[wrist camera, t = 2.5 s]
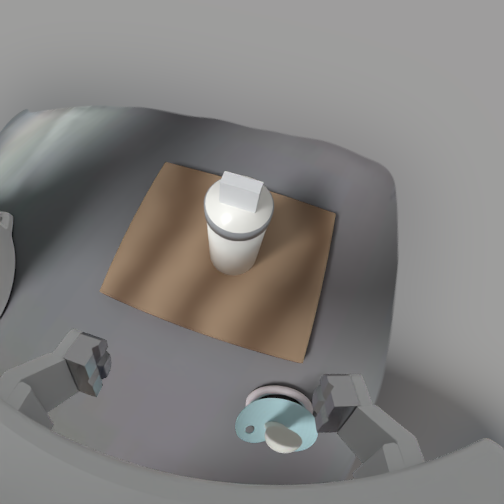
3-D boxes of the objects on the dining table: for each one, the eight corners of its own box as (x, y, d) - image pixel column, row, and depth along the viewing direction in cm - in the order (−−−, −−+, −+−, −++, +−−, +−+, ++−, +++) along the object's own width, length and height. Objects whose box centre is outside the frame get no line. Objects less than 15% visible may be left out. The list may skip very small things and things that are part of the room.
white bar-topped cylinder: (201, 267, 25) (189, 202, 15) (218, 225, 27) (218, 145, 17) (249, 282, 25) (269, 227, 15) (263, 239, 27) (288, 165, 16)
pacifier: (248, 376, 23) (228, 433, 21) (257, 379, 18) (231, 453, 15) (321, 394, 23) (302, 449, 21) (349, 400, 17) (325, 469, 15)
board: (104, 294, 24) (99, 291, 23) (166, 168, 30) (165, 161, 29) (299, 362, 24) (302, 363, 23) (331, 218, 30) (335, 213, 29)
